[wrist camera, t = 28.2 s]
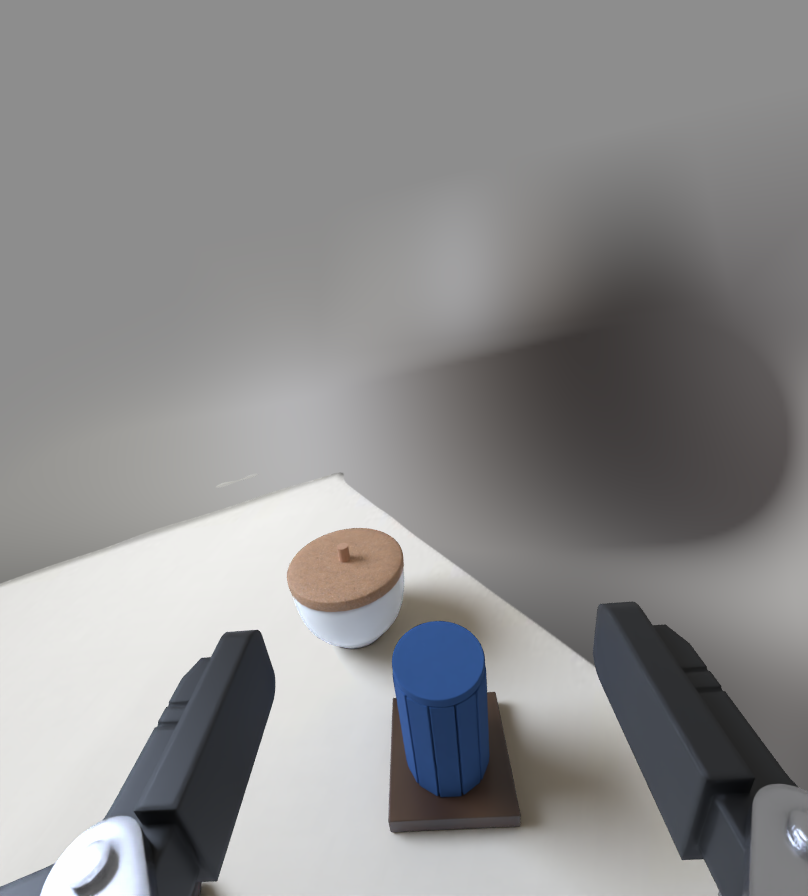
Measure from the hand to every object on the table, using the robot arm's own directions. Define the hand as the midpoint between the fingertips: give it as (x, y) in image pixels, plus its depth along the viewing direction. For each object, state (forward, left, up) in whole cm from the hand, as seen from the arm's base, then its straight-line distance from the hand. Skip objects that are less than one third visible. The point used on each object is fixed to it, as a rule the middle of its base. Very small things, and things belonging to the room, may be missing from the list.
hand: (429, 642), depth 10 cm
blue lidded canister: (0, -11, -22) cm, 25 cm away
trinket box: (+8, -24, -24) cm, 35 cm away
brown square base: (0, -11, -24) cm, 26 cm away
